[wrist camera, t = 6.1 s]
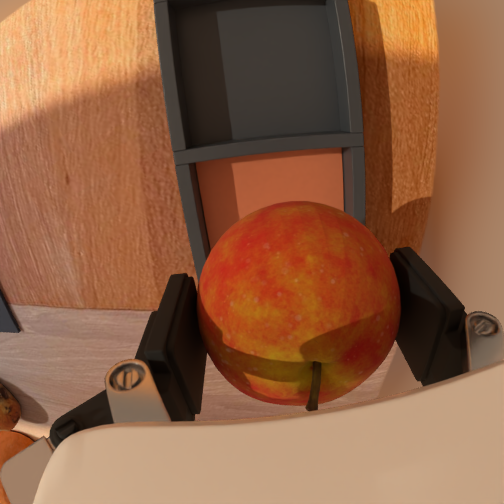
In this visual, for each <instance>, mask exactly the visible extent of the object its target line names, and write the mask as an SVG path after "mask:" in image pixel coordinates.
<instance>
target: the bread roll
mask: <svg viewBox="0 0 504 504" xmlns="http://www.w3.org/2000/svg"><path fill="white" fill-rule="evenodd" d="M20 416H21V409H20V405H19V403H18V401H17V400H16V399H15V398H14V397H13V395H12V394H11V393H10V392H9V391H8V390H7V389H6V388H5V387H4V386H3V385H2V384H1V383H0V431H10V430H11V429H13V428H14V427H15V425H16V424H17V422H18V420H19V419H20Z"/></svg>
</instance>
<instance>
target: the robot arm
mask: <svg viewBox="0 0 504 504" xmlns="http://www.w3.org/2000/svg"><path fill="white" fill-rule="evenodd" d="M390 261H391V263H392V265H393V267H394V270H395V274H396V277H397V281H398V285H399V290H400V300H401V316H400V323H399V329H398V333H397V336H396V338H395V340H396V342H397V344H398V346H399V347H400V349H401V351H402V353H403V355H404V357H405V359H406V361H407V363H408V365H409V367H410V369H411V371H412V373H413V375H414V377H415V379H416V380H417V381H421V383H422V385H423V387H420V388H417V389H413V390H410V391H406V392H402V393H398V394H394V395H390V396H386V397H382V398H378V399H373V400H369V401H364V402H359V403H355V404H350V405H344V406H339V407H333V408H328V409H322V410H315V411H309V412H302V413H294V414H287V415H278V416H269V417H259V418H247V419H232V420H212V421H195V414H200V411H201V403H202V393H203V384H204V375H205V366H206V358H207V351H206V348H205V346H204V343H203V340H202V337H201V334H200V330H199V325H198V317H197V308H196V306H197V290H196V286H195V282H194V278H193V277H188V275H187V273H183V274H174V275H171V276H170V278H169V281H168V284H167V287H166V289H165V292H164V295H163V297H162V300H161V303H160V306H159V308H158V311H154V312H152V313H151V315H150V318H149V320H148V323H147V326H146V328H145V331H144V334H143V337H142V339H141V342H140V345H139V348H138V351H137V354H136V356H135V359H128V360H124V361H121V362H119V363H117V364H115V365H114V366H113V367H111V368H110V370H109V371H108V372H107V374H106V376H105V387H106V390H104V391H102V392H101V393H99V394H97V395H96V396H94V397H92V398H91V399H89V400H88V401H86V402H84V403H83V404H81V405H79V406H78V407H76V408H74V409H73V410H71V411H69V412H68V413H66V414H64V415H63V416H61V417H60V418H58V419H57V420H56V421H55V422H54V424H53V425H52V427H51V430H50V437H48V438H47V439H46V438H45V437H44V436H43V437H41V438H40V439H38V440H37V441H35V442H34V443H32V444H31V445H29V446H28V447H26V448H25V449H23V450H22V451H20V452H19V453H17V454H16V455H14V456H13V457H11V458H10V459H8V460H7V461H6V462H5V463H4V464H3V466H2V468H1V470H0V479H1V483H2V485H3V487H4V490H5V492H6V494H7V497H8V499H9V501H10V503H11V504H504V333H503V328H502V325H501V323H500V322H499V320H498V319H497V318H496V317H494V316H493V315H491V314H489V313H486V312H482V311H475V312H472V313H470V314H468V315H467V314H466V312H465V311H464V309H465V307H464V305H462V303H461V302H460V301H459V300H458V299H457V297H456V296H455V295H454V294H453V293H452V292H451V290H450V289H449V288H448V287H447V286H446V285H445V284H444V283H443V281H442V280H441V279H440V278H439V277H438V276H437V275H436V274H435V273H434V272H433V271H432V269H431V268H430V267H429V266H428V265H427V264H426V263H425V262H424V261H423V260H422V259H421V258H420V257H419V256H418V255H417V254H416V253H415V252H414V251H413V249H412V248H410V247H404V248H396V249H395V250H394V253H391V254H390Z"/></svg>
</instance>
